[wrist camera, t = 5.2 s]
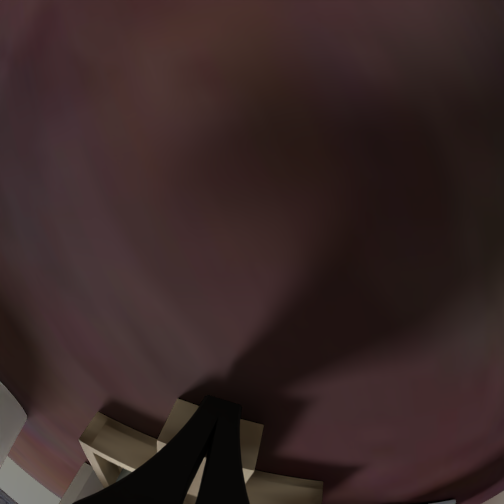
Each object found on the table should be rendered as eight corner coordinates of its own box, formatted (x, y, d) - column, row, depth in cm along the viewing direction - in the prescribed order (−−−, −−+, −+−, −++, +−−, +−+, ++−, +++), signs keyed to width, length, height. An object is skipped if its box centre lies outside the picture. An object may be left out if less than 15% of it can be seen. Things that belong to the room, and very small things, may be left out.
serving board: (364, 442, 11) (367, 485, 9) (274, 518, 17) (270, 541, 15) (85, 357, 12) (57, 388, 10) (116, 469, 18) (105, 489, 16)
